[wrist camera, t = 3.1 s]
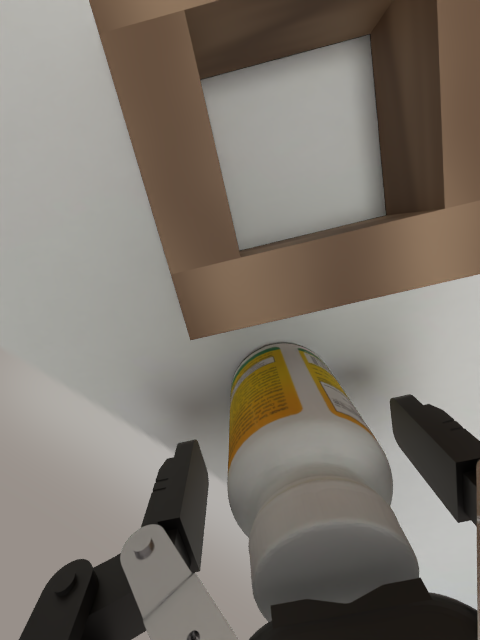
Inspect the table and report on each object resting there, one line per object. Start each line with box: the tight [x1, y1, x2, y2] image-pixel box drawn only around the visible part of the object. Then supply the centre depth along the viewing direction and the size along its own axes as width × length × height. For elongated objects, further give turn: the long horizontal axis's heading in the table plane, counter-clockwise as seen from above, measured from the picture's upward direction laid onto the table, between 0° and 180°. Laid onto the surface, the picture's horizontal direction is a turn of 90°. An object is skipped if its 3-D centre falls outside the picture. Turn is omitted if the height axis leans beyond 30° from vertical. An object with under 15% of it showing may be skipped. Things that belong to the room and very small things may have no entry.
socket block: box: [89, 0, 480, 340], centre depth 11 cm, size 12×12×4 cm
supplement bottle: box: [228, 343, 419, 622], centre depth 12 cm, size 5×5×10 cm
